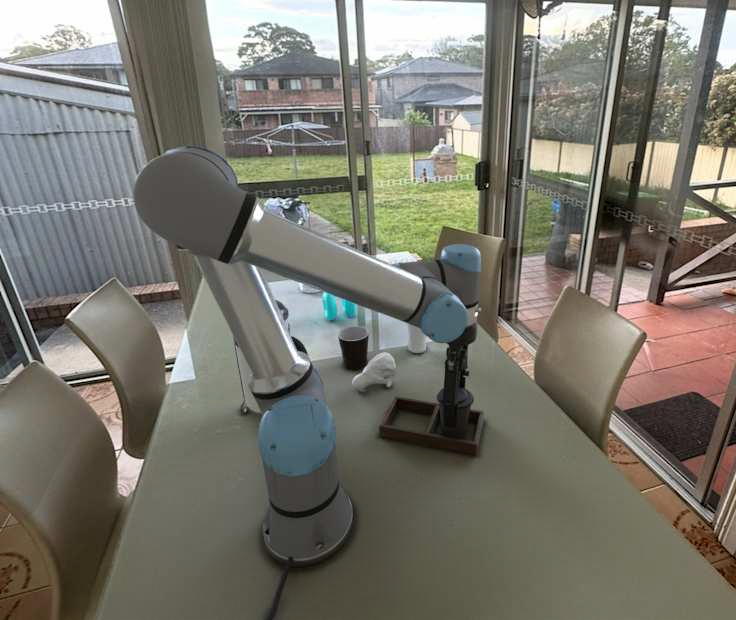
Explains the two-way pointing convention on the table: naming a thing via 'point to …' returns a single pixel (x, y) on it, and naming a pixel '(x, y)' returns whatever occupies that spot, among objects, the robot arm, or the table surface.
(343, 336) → the coffee mug
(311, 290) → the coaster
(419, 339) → the drinking glass
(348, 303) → the cyan wheel pair
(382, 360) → the white lumpy figurine
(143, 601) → the table surface
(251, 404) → the coffee press
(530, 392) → the table surface
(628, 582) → the table surface
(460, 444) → the frame
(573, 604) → the table surface
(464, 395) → the coffee cup
